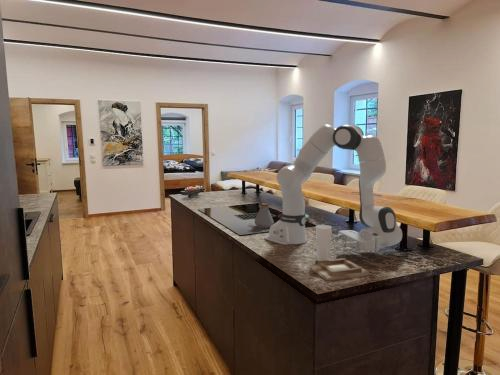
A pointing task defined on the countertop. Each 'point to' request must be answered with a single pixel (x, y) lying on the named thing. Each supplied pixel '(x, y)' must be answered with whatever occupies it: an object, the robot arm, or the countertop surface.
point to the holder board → (338, 269)
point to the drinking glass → (323, 242)
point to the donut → (306, 218)
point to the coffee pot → (264, 216)
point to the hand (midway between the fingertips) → (339, 241)
